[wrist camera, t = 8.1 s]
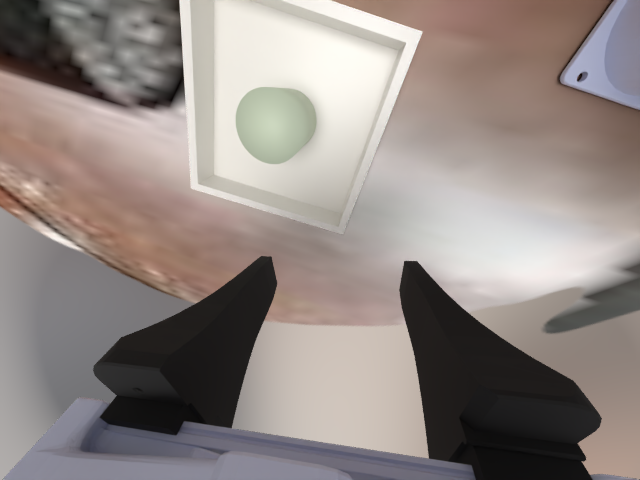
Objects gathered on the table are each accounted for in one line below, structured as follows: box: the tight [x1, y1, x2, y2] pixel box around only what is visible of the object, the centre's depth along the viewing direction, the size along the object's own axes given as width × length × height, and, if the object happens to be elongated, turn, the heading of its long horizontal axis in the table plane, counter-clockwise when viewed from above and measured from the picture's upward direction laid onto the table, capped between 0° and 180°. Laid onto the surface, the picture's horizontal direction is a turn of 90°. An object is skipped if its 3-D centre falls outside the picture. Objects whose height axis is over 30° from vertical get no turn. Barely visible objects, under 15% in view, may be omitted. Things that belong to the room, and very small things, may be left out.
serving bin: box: [180, 0, 422, 235], centre depth 16 cm, size 13×13×3 cm
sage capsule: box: [236, 87, 317, 164], centre depth 15 cm, size 4×4×5 cm
